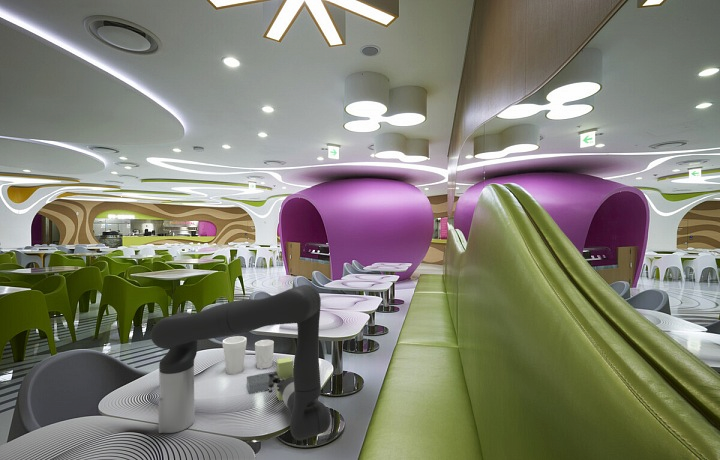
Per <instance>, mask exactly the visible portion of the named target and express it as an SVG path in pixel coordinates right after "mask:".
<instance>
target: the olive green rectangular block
mask: <svg viewBox="0 0 720 460" xmlns="http://www.w3.org/2000/svg"><path fill="white" fill-rule="evenodd" d="M275 361H276V362H275V363H276V364H275V365H276V369H275V371H276V372H277V374H278V376H279V377H280V376H282V377H284V378H289V377H292V374H293V366H294V360H293V359H292V357H291V356H288V357H283V358H279V359H278V358H276V360H275ZM276 386H277V385H276ZM275 391H276V398H278V399H277V400H279V401H278V402H281V401H280V400H283V399H282V396H281V394H280V392H279V391H277V390H275Z"/></svg>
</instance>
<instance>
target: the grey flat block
mask: <svg viewBox="0 0 720 460" xmlns="http://www.w3.org/2000/svg"><path fill="white" fill-rule="evenodd" d="M274 372H276V370H275V371H270V372H264V373H260V374H259V373H258V374H253V375H248V376H246V387H247V390H248V394H249V395H252V394H256V393H259V392H258V391H261V392H264V391H263V390H266V391H269V390H268V389H269V378H270V377H273V373H274ZM274 384H275V383H274ZM275 385H276V384H275ZM255 392H256V393H255ZM251 393H252V394H251Z"/></svg>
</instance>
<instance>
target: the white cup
mask: <svg viewBox="0 0 720 460" xmlns="http://www.w3.org/2000/svg"><path fill="white" fill-rule="evenodd" d="M274 343H275V341H274V340H271V339H261V340H258V341H256V342H255V343H254V351H255V352H254V355H255V365H256V368H257V369H259V368H266V369H269V368H271V367H272V366H273V365H274V363H273V362H274V360H273V359H274V347H275V345H274Z"/></svg>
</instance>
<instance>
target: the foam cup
mask: <svg viewBox="0 0 720 460" xmlns="http://www.w3.org/2000/svg"><path fill="white" fill-rule="evenodd" d="M247 342H248V341H247V336H246V337H245V336H241V335H237V336H235V335H234V336H228V337H227V338H225V339H223V340H222V350H223V354H224V355H223V356H224V361H225V367H226V373H227V374H228V375H237V374H240V373H243V371H244V367H245V365H244V364H245V358H246V348H247V345H248V344H247Z"/></svg>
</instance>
